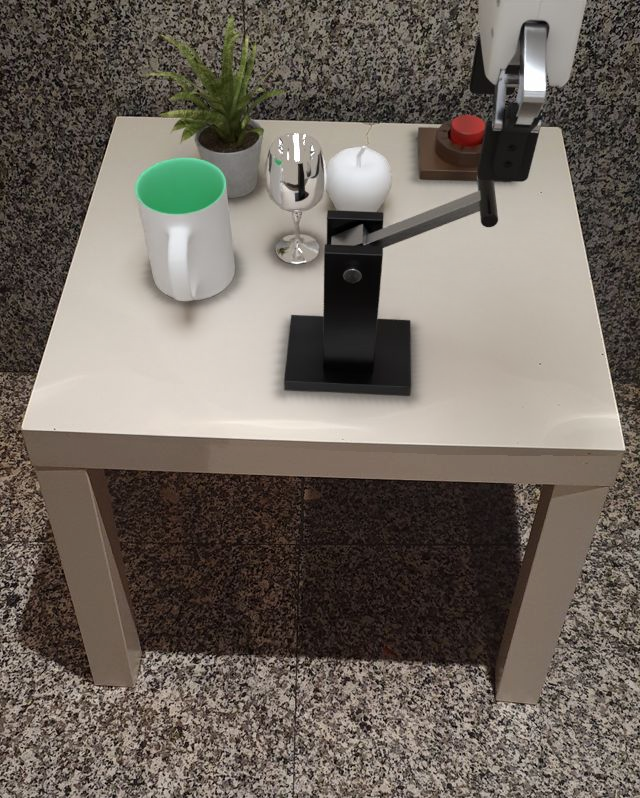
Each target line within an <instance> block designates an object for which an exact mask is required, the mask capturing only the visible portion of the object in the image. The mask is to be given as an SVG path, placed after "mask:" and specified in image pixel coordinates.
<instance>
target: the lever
mask: <svg viewBox="0 0 640 798" xmlns="http://www.w3.org/2000/svg"><path fill="white" fill-rule="evenodd" d="M476 181H477V183H476V184H477V190H476V191H474V192H472V193H470V194H467V195H464V196H462V197H460V198H459V197H458V198H456V199H454V200H451V201H449V202H447V203H444V204H441V205H438V206H437V207H434V208H431V209H429V210H426V211H423V212H421V213H418V214H416V215H414V216H412V217H409V218H406V219H404V220H400V221H398V222H395V223H393V224H391V225H388V226H386V227H383V229H380V230H378V231H375V232H373V233H370V234H369V233H368V231H367V229H366V228H365V226H364V225H363V224H361V225H359V226H356V227H354V228H351V229H349V230H346V231H344V232H341V233H339V234H336V235H334V236H332V239H331V245H354V246H378V247H383V249H385V248H387V247H391V246H392V245H395V244H398V243H400V242H403V241H405V240H409V239H411V238H414V237H416V236H418V235H422V234H424V233H427V232H429V231H433V230H434V229H437V228H440V227H442V226H445V225H448V224H450V223H453V222H456V221H458V220H461V219H464V218H466V217H469V216H472V215H474V214H476V213H477V214H478V213H479V214H480V216H479V217H480V223H481V225H482V226H483V227H485V228H493V227H495V226H496V225H497V224H498V222H499V214H498V205H497V196H496V188H495V181H493V180H481V179H479V178H478V175H477V180H476Z"/></svg>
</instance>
